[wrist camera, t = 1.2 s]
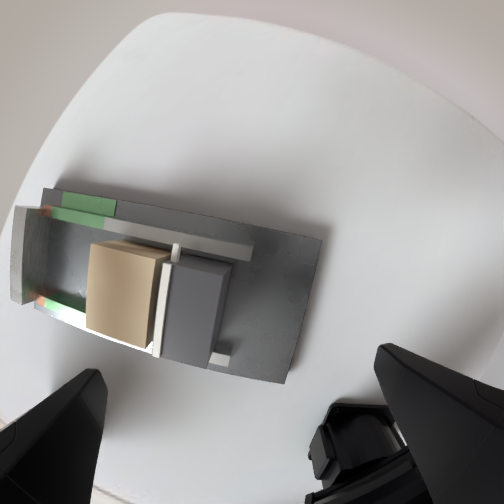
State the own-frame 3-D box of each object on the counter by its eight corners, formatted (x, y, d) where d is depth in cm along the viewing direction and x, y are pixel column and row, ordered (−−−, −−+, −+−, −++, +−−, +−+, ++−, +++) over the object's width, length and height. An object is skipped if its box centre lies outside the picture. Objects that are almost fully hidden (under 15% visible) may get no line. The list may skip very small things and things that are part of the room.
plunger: (235, 249, 17) (226, 257, 13) (217, 340, 18) (205, 370, 14) (187, 239, 17) (164, 244, 13) (173, 329, 18) (150, 355, 14)
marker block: (178, 251, 18) (155, 259, 14) (167, 325, 18) (145, 349, 14) (123, 239, 18) (90, 243, 14) (115, 309, 18) (85, 327, 14)
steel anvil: (52, 209, 18) (26, 208, 15) (45, 296, 19) (21, 304, 16) (40, 206, 18) (15, 205, 15) (34, 291, 19) (10, 299, 16)
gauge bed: (318, 239, 18) (326, 241, 16) (283, 375, 19) (285, 393, 17) (52, 188, 19) (34, 186, 17) (42, 304, 20) (25, 311, 18)
